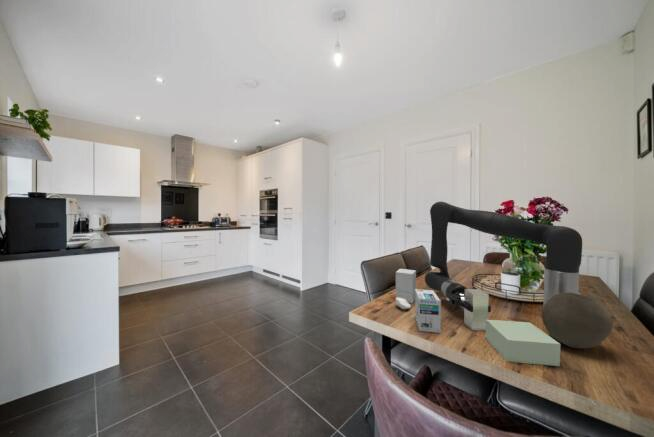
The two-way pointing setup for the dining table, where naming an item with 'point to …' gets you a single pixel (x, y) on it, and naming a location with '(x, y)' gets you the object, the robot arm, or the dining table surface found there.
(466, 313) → the tea tin
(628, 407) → the dining table surface
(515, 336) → the green box
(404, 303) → the dumpling
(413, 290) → the supplement box
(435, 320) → the light bulb box
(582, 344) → the brown coconut
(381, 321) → the dining table surface
